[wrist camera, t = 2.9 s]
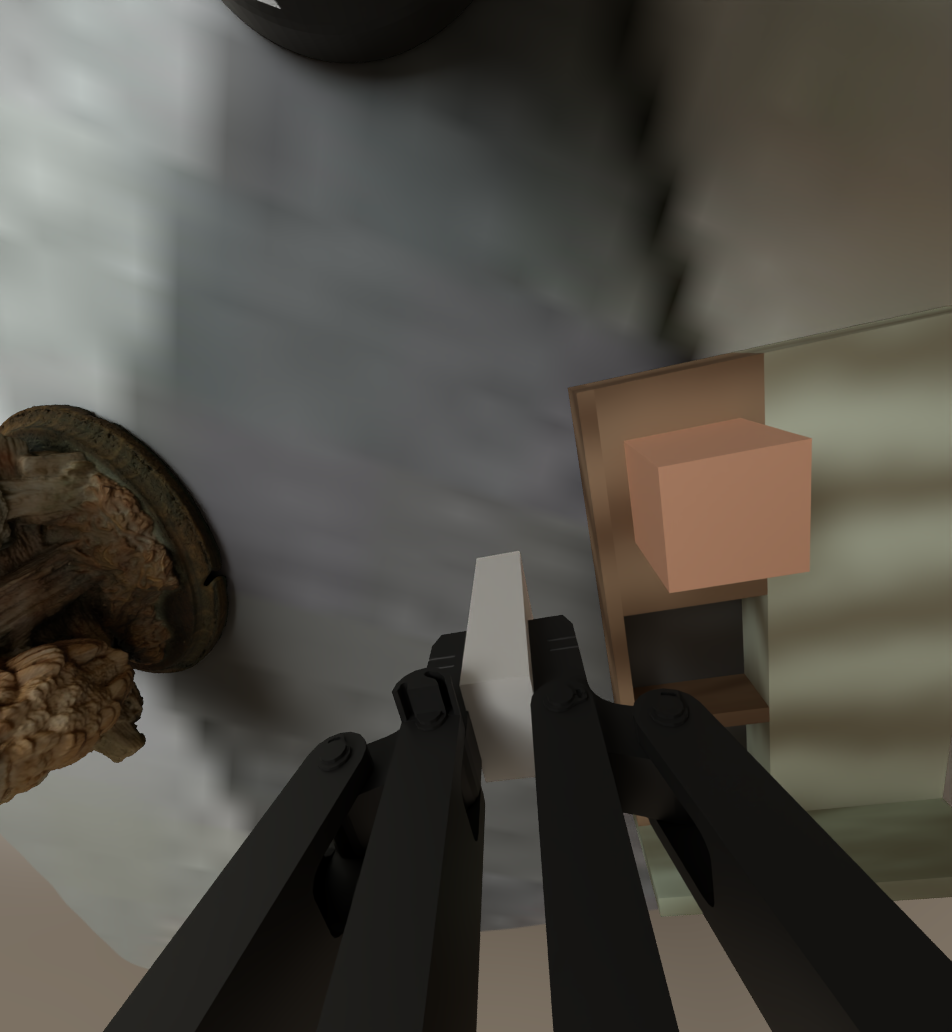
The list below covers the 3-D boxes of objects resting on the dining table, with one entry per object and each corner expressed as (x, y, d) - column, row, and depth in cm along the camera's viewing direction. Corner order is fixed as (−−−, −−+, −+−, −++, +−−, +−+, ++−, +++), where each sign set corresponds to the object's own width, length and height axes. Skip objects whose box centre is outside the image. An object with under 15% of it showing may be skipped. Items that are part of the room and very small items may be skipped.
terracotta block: (623, 440, 21) (658, 467, 16) (740, 417, 20) (811, 438, 15) (635, 542, 22) (669, 593, 18) (744, 523, 22) (809, 571, 17)
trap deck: (567, 387, 23) (592, 402, 16) (945, 306, 21) (1148, 286, 14) (628, 799, 32) (660, 916, 25) (898, 772, 30) (1010, 892, 23)
